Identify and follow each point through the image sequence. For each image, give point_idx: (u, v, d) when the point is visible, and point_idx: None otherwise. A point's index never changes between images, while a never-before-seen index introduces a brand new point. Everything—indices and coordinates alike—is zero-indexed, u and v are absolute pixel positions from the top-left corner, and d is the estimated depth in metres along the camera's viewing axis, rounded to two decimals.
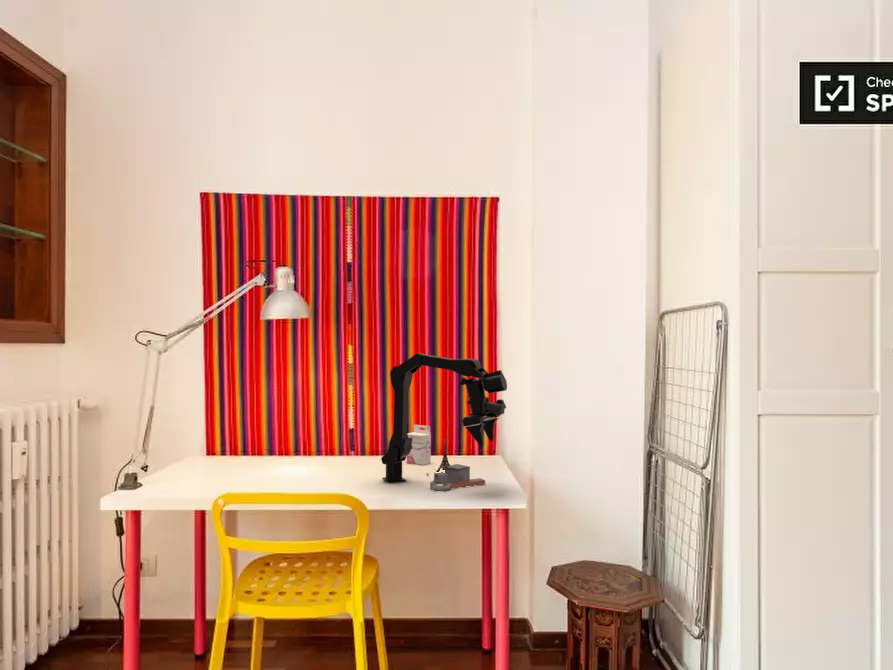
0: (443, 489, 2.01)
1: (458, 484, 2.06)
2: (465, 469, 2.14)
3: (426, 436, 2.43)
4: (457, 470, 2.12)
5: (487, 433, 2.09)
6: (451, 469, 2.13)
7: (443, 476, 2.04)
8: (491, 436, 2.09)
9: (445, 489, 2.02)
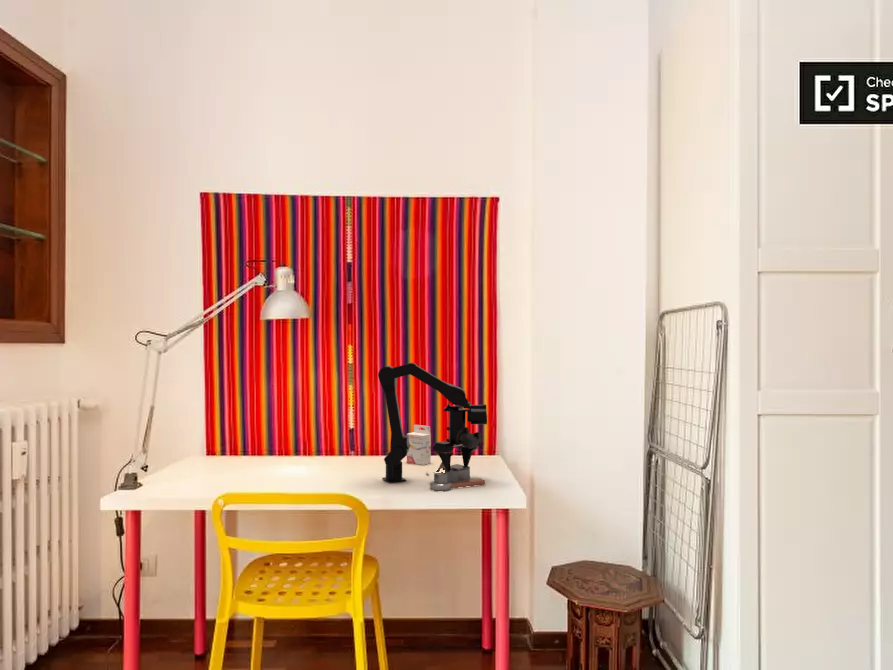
0: (443, 489, 2.01)
1: (458, 484, 2.06)
2: (465, 469, 2.14)
3: (426, 436, 2.43)
4: (457, 470, 2.12)
5: (463, 459, 2.20)
6: (451, 469, 2.13)
7: (443, 476, 2.03)
8: (466, 463, 2.19)
9: (445, 489, 2.02)
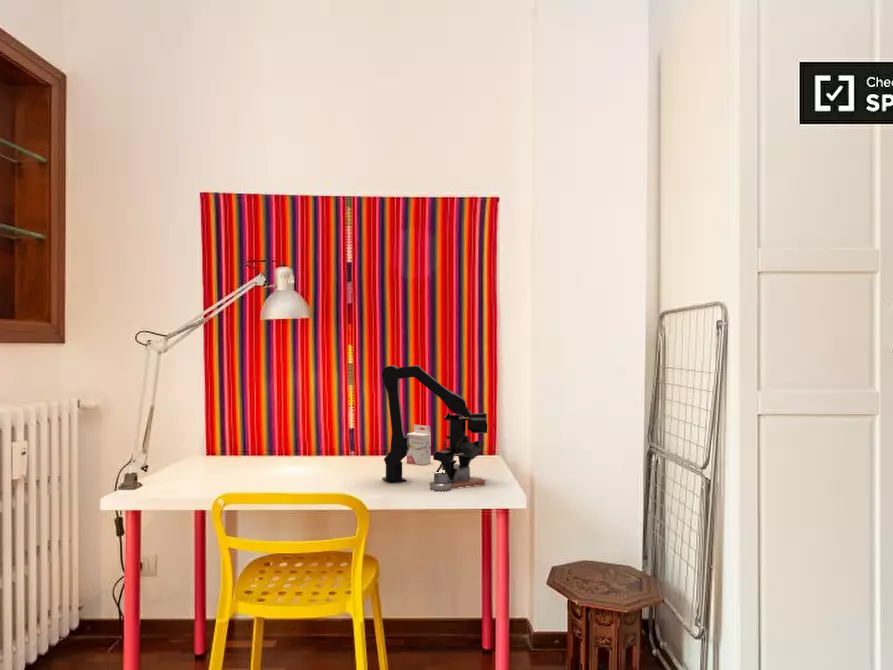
0: (443, 489, 2.01)
1: (458, 484, 2.06)
2: (465, 469, 2.14)
3: (426, 436, 2.43)
4: (457, 470, 2.12)
5: None
6: None
7: (443, 476, 2.03)
8: None
9: (445, 489, 2.02)
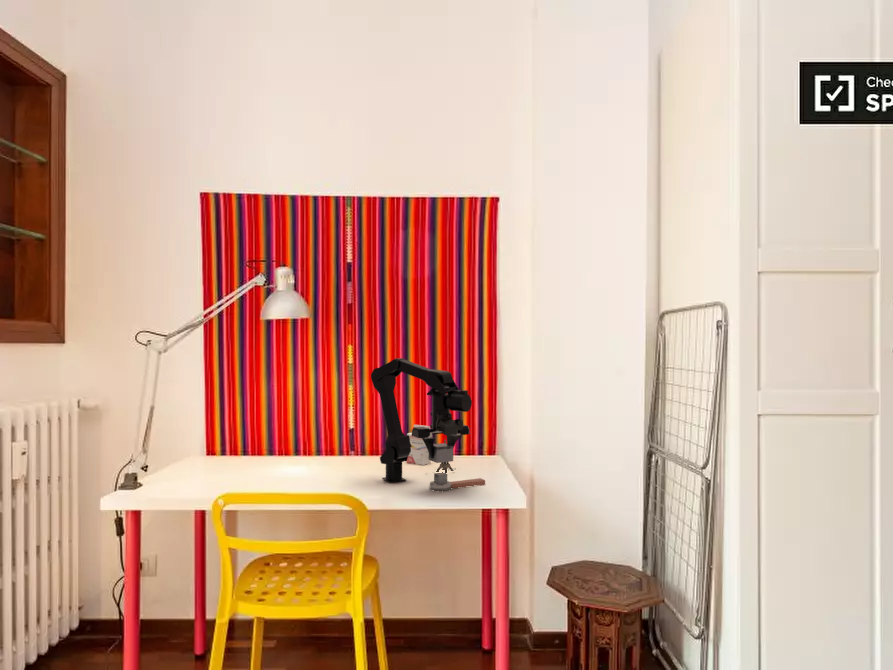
0: (443, 489, 2.01)
1: (458, 484, 2.06)
2: (447, 448, 2.03)
3: None
4: (436, 448, 2.01)
5: None
6: None
7: (443, 476, 2.03)
8: None
9: (445, 489, 2.02)
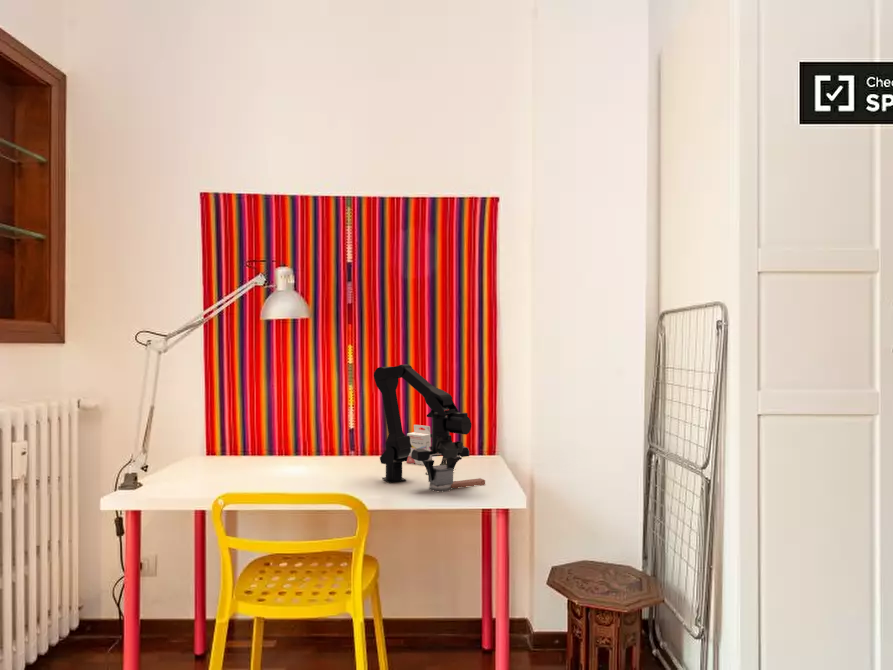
0: (443, 489, 2.01)
1: (458, 484, 2.06)
2: (446, 470, 2.02)
3: (426, 436, 2.43)
4: (436, 471, 2.01)
5: None
6: None
7: None
8: None
9: (445, 489, 2.02)
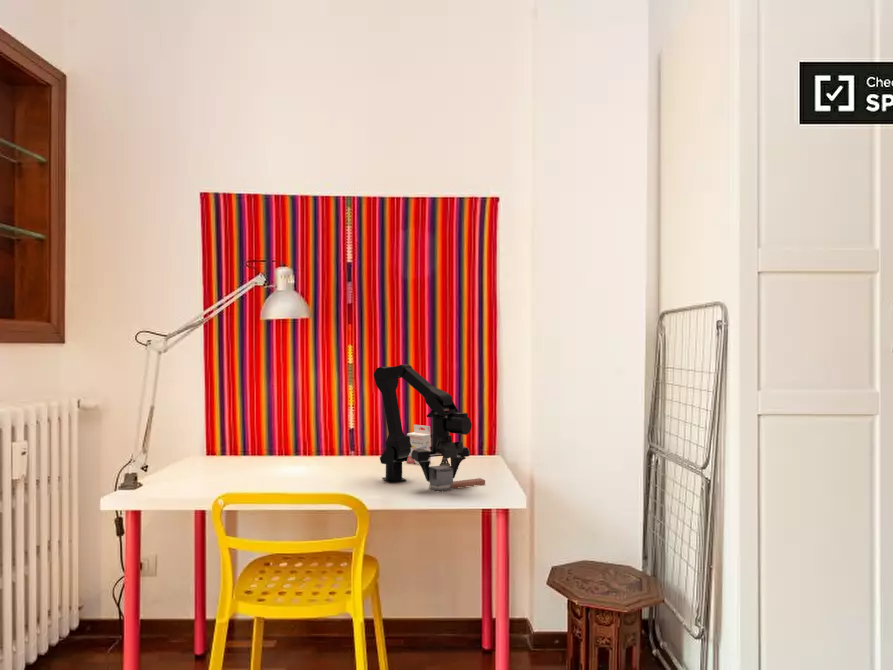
0: (443, 489, 2.01)
1: (458, 484, 2.06)
2: (446, 471, 2.02)
3: (426, 436, 2.43)
4: (436, 471, 2.01)
5: None
6: (432, 469, 2.04)
7: None
8: (453, 473, 2.07)
9: (445, 489, 2.02)
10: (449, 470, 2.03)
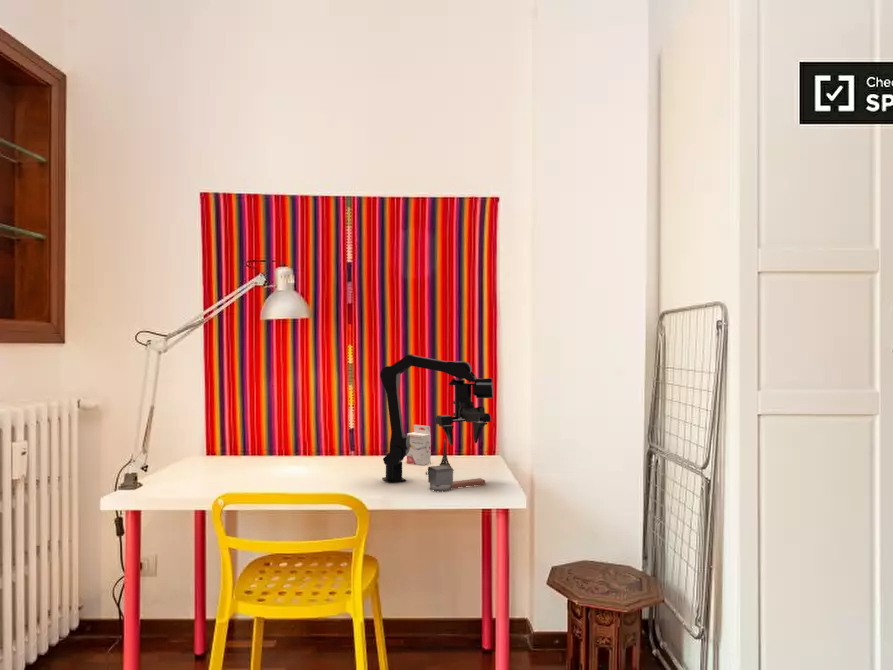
0: (443, 489, 2.01)
1: (458, 484, 2.06)
2: (446, 471, 2.02)
3: (426, 436, 2.43)
4: (436, 471, 2.01)
5: (474, 434, 2.16)
6: (432, 470, 2.04)
7: None
8: (475, 438, 2.15)
9: (445, 489, 2.02)
10: (449, 470, 2.03)
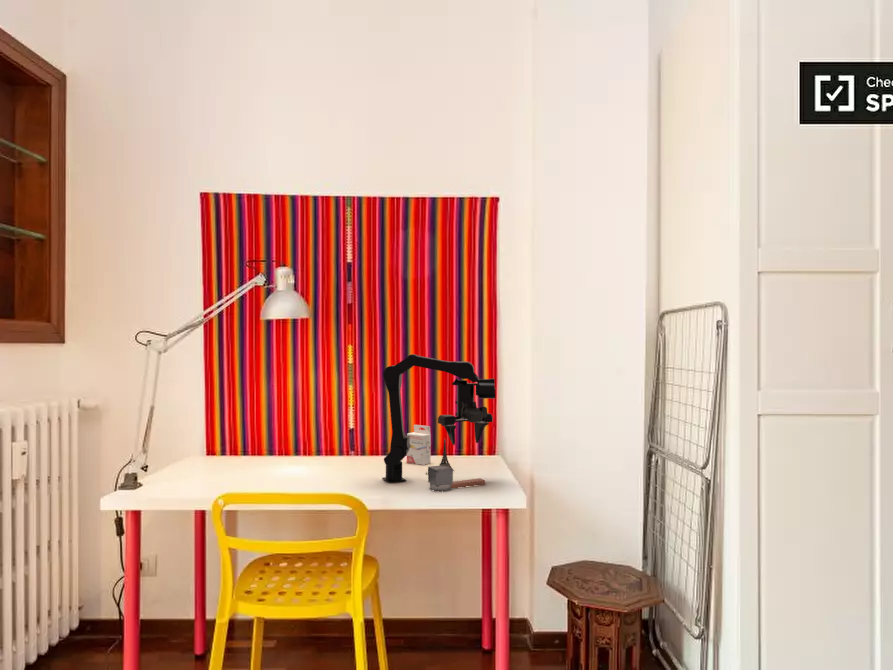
0: (443, 489, 2.01)
1: (458, 484, 2.06)
2: (446, 471, 2.03)
3: (426, 436, 2.43)
4: (435, 471, 2.01)
5: (475, 434, 2.18)
6: (432, 469, 2.04)
7: None
8: (477, 438, 2.17)
9: (445, 489, 2.02)
10: (449, 470, 2.03)
